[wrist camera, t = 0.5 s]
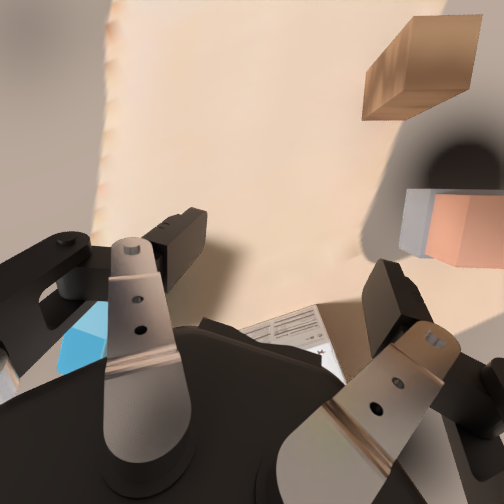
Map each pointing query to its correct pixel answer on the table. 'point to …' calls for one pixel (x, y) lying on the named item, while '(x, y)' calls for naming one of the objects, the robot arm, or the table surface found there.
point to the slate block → (425, 216)
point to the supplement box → (299, 335)
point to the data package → (85, 340)
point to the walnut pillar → (422, 67)
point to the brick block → (467, 231)
